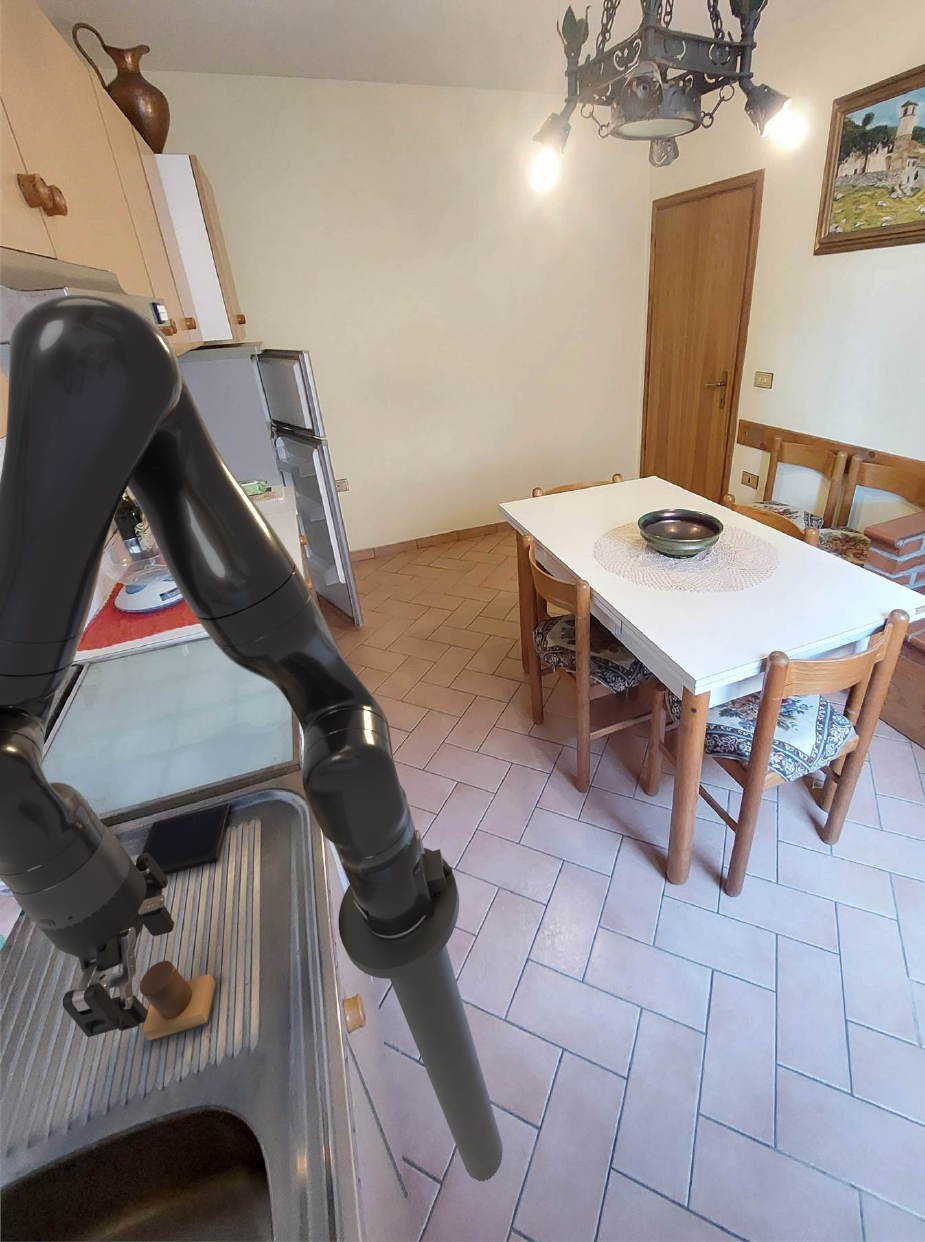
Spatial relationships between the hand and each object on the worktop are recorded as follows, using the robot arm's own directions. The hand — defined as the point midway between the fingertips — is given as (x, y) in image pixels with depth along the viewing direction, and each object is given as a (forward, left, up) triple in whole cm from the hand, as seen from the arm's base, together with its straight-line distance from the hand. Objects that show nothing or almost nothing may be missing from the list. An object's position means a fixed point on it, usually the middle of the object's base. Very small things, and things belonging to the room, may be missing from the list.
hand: (151, 973), depth 58 cm
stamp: (0, 0, -9) cm, 9 cm away
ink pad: (+6, -23, -9) cm, 25 cm away
